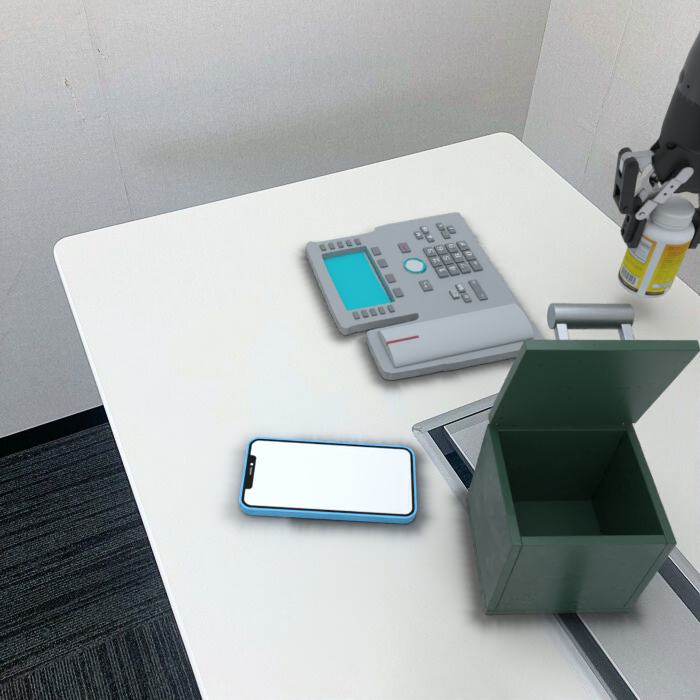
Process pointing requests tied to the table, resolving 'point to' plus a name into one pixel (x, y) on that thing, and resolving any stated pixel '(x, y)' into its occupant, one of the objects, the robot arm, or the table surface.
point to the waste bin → (565, 519)
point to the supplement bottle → (658, 249)
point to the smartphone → (329, 480)
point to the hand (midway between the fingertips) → (659, 243)
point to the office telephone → (421, 296)
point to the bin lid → (589, 371)
